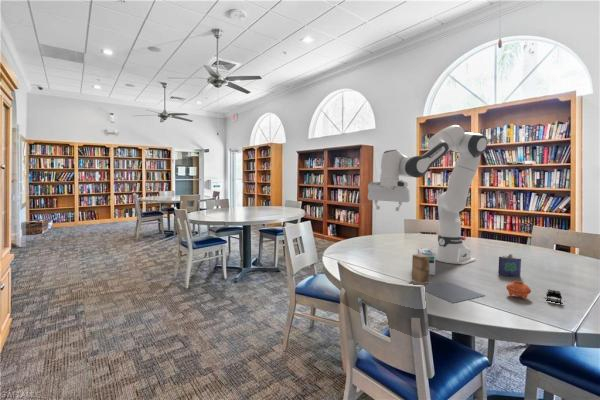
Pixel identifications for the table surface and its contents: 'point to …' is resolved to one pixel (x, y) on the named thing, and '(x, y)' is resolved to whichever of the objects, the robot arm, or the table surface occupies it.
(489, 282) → the table surface
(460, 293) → the mat
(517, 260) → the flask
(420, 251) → the light bulb box
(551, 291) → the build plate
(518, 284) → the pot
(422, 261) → the walnut block
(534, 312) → the table surface
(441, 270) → the table surface
